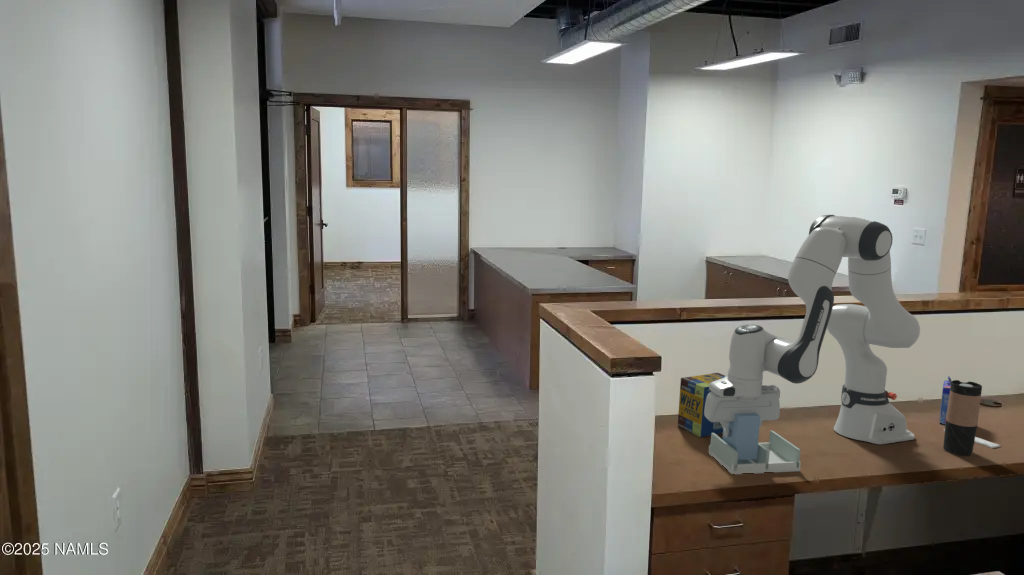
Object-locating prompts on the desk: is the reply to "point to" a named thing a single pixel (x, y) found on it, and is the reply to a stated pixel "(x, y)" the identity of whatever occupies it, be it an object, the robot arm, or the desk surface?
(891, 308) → the robot arm
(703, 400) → the protein box
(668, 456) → the desk surface
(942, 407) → the ink cartridge box
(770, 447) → the slot rack
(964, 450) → the travel mug
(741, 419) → the blue block
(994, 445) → the flat white bar
